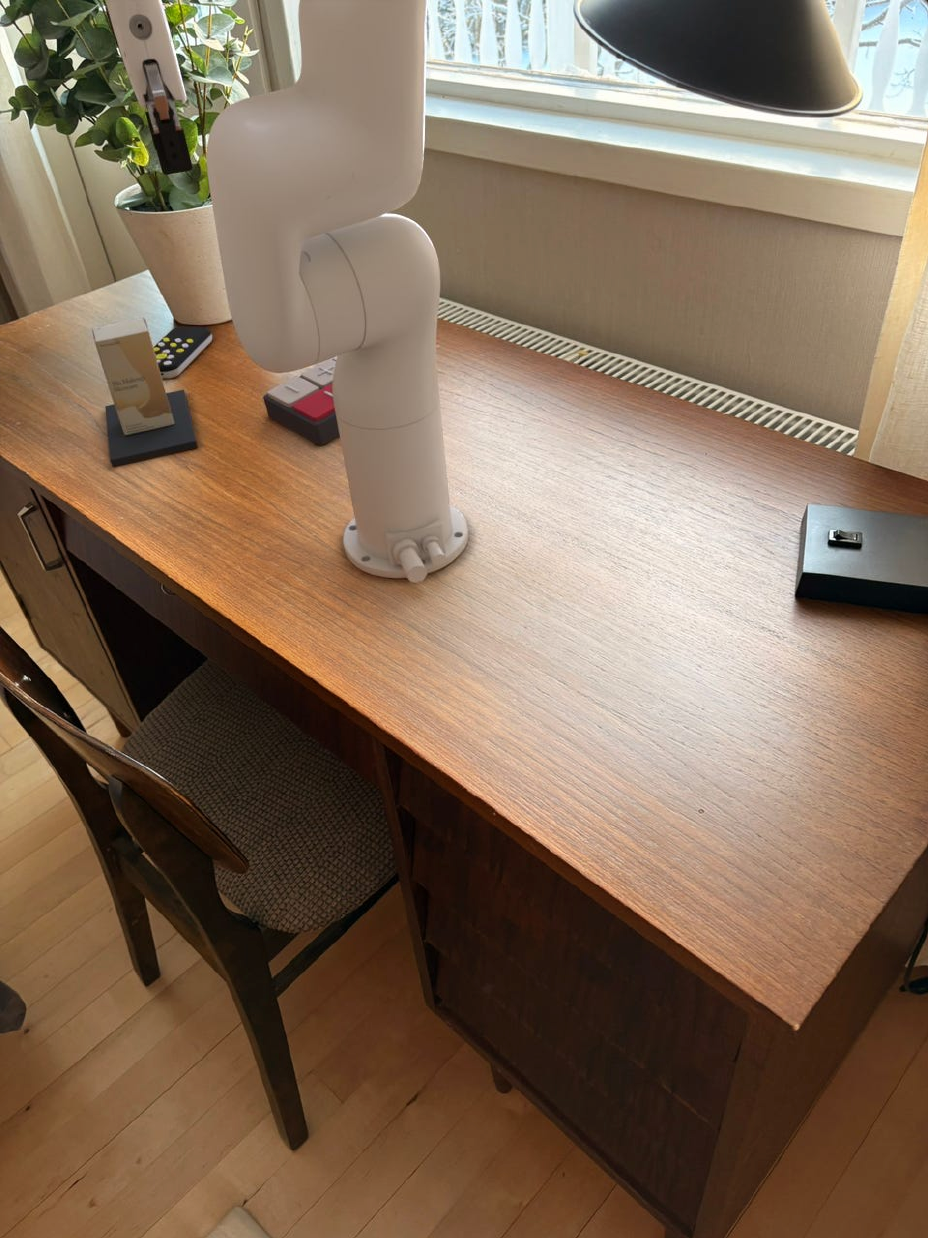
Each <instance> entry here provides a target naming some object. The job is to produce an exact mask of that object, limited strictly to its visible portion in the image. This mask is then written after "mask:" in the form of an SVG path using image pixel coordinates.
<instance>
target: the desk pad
mask: <svg viewBox="0 0 928 1238" xmlns="http://www.w3.org/2000/svg"><path fill="white" fill-rule="evenodd" d="M166 395H167V398H168V402H169V405H170V409H171V412H172V416H173V420H174V425H170V426H165V427H161V428H157V429H152V430H148V431H143V432H139V433H134V434H130V435H124V432H123V429H122V426H121V423H120V420H119V417H118V414H117V411H116V408H115V405H114V403H113V404H109V405H105V406H104V407H105V419H106V429H107V441H108V452H109V462H110V464H111V466H112V467H113V468H115V467H119V466H123V465H127V464H133V463H138V462H141V461H147V460H150V459H154V458H159V457H163V456H168V455H172V454H177V453H180V452H185V451H189V450H190V451H191V450H194V449H198V448H199V446H198V443H197V438H196V433H195V429H194V425H193V421H192V417H191V412H190V407H189V403H188V399H187V395H186V392H185V389H179V390H174V391H170V392H166Z"/></svg>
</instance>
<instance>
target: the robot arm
mask: <svg viewBox="0 0 928 1238" xmlns="http://www.w3.org/2000/svg"><path fill="white" fill-rule="evenodd" d="M428 2H429V0H299V3H298V12H297V14H298V15H297V16H298V17H297V18H298V30H299V43H300V57H301V58H300V60H301V62H300V63H301V64H300V65H301V67H300V74H299V77H298V79H297V81H296V82H295V83H294V84H293V85H292V86H290V87H287V88H284V89H277V90H274V91H269V92H265V93H261V94H256V95H253V96H250V97H247V98H243V99H241V100H238V101H236V102H234V103H232V104H230V105H228V106H226V108H224V109H223V110H221V112H220V113H219V114H218V115H217V116H216V118H215V119H214V121H213V123H212V125H211V128H210V130H209V135H208V139H207V144H206V146H207V147H206V169H207V170H206V171H207V178H208V180H207V181H208V188H209V194H210V199H211V206H212V213H213V220H214V224H215V230H216V237H217V243H218V250H219V256H220V261H221V268H222V274H223V275H222V276H223V281H224V287H225V293H226V298H227V303H228V309H229V314H230V316H231V321H232V324H233V328H234V330H235V334H236V336H237V338H238V341H239V343H240V345H241V347H242V350H244V352H245V354H246V355H247V356H248V358H249V359H250V360H251V361H252V362H253V363H254V364H255V365H256V366H258V367H259V368H261V369H263V370H265V371H267V372H271V373H275V374H283V373H284V374H285V373H292V372H296V371H299V370H303V369H306V368H308V367H311V366H315V365H318V364H320V363H322V362H324V361H326V360H328V359H331V360H332V359H333V358H334V357H336V356H338V357H337V360H336V364H335V369H334V374H333V383H332V393H333V401H334V407H335V412H336V418H337V423H338V429H339V434H340V436H339V439H340V445H341V450H342V455H343V461H344V462H343V463H344V465H345V466H344V467H345V473H346V478H347V484H348V488H349V489H348V490H349V493H350V494H349V495H350V501H351V506H352V512H353V515H354V516H353V518H352V519H351V520H350V521H349V522H348V523H347V525H346V526H345V528H344V532H343V536H342V544H343V548H344V553H345V556H346V557H347V559H348V560H349V562H350V563H352V565H354V567H356V568H357V569H359V570H360V571H362V572H364V573H367V574H370V575H373V576H377V577H380V578H381V577H382V578H387V579H388V578H390V579H407V580H408V581H409V582H410V583H414V584H417V583H421V582H422V581H424V580H425V579H426V578H427V575H428V574H430V573H435V572H436V571H438V570H441V569H442V568H444V567H446V566H447V565H450V563H452V562H453V561H454V560H456V559H457V558H458V557H459V556H460V555H461V554H462V552H463V551H464V550H465V548H466V545H467V544H468V539H469V529H468V522H467V520H466V518H465V516H464V515H463V514H462V512H461V511H460V510H459V509H458V508H457V507H455V506H454V505H452V504H451V503H450V502H451V501H450V493H449V491H450V490H449V482H448V481H449V480H448V471H447V461H446V450H445V439H444V431H443V421H442V419H443V418H442V410H441V401H440V400H441V399H440V387H439V377H438V363H437V330H438V329H437V328H438V317H439V307H440V298H441V297H440V295H441V271H440V269H441V267H440V263H439V258H438V255H437V251H436V249H435V246H434V244H433V241H432V240H431V238H430V236H429V235H428V234H427V232H426V231H425V230H424V228H422V226H420V224H418V223H417V222H415V221H414V220H412V219H410V218H409V217H406V216H403V215H400V214H396V213H391V212H393V211H396V210H397V209H400V208H401V207H403V206H404V205H407V204H408V203H409V202H410V201H411V200H412V199H413V198H414V196H415V195H416V194H417V192H418V189H419V187H420V184H421V181H422V175H423V169H424V158H425V134H426V133H425V129H426V87H427V86H426V79H427V17H428V15H427V14H428ZM105 3H106V7H107V11H108V14H109V19H110V21H111V25H112V29H113V32H114V35H115V38H116V42H117V46H118V49H119V52H120V55H121V58H122V62H123V65H124V67H125V71H126V74H127V76H128V79H129V81H130V84H131V88H132V90H133V92H134V94H135V97H136V99H137V102H138V104H139V106H140V108H142V109H144V110H146V111H144V113H145V117H146V121H147V125H148V129H149V133H150V137H151V140H152V144H153V147H154V150H155V151H156V154H157V158H158V162H159V165H160V169H161V172H162V175H165V176H168V175H174V174H181V173H186V172H191V171H192V170H193V167H194V166H193V163H192V158H191V155H190V151H189V147H188V143H187V142H188V141H187V138H186V135H185V130H184V128H183V127H181V122H180V119H179V115H178V112H177V108H176V104H175V101H180V103H181V105H184V104H186V103H187V100H188V97H187V93H186V90H185V89H186V88H185V86H184V82H183V78H182V77H183V76H182V74H181V70H180V65H179V61H178V58H177V54H176V50H175V45H174V41H173V37H172V32H171V29H170V26H169V25H170V24H169V22H168V21H169V20H168V18H167V13H166V10H165V7H164V3H163V0H105Z"/></svg>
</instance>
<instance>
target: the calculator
mask: <svg viewBox="0 0 928 1238" xmlns="http://www.w3.org/2000/svg"><path fill="white" fill-rule="evenodd" d="M337 357H338V356H336V357H333V358H331V359H328V360H325V361H322V362H320V363H317V364H315V365H313V366H312V367H311V368H309V369H307V370H305V371H302V372H301V373H300V376H294V377H292V378H289V379H288V380H286V381H284V382H282V383H280V384H278V385H276V386H275V387H273V388H271V389H269V390H267V391H266V394H264V395H263V396H262V399H263V403H264V406H265V409H266V413H267V416H268V418H269V419H271V420H273V421H275V422H276V423H278V424H279V425H281V426H283V427H285V428H286V429H288V430H290V431H292V432H294V433H296V434H298V435H299V436H301V437H303V438H305V439H307V440H308V441H310V442H312V443H314V444H315V445H317V446H324V445H326V444H328V443H329V442H332V441H333V440H334V439H336V438H338V437H340V434H339V429H338V423H337V418H336V412H335V407H334V401H333V393H332V383H333V374H334V369H335V364H336V360H337Z"/></svg>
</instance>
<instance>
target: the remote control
mask: <svg viewBox="0 0 928 1238" xmlns="http://www.w3.org/2000/svg"><path fill="white" fill-rule="evenodd" d="M212 341H213V335H212V332H211V329H209V328H207V327H205V326H177V327H174V328H172V329H171V330H170V331H169V332H168V333H167V334H166V335H165V336H163V337H162V338H161V339H160V340H159V341H158V342H157V343H156V344H154V345H153V348H154V352H155V355H156V359H157V362H158V366H159V370H160V373H161V377H162V379H167V380H169V379H174V378H176V377H178V376H179V375H180V374H181V373H183V371H185V370H186V368H187V367H188V366H189V365H190V364H191V363H192V362H193V361H194V360H195V359H196V358H197V357H198V356H199V355H200V354H201V353H202V352H203V351H204V350H205V349H206V348H207V346H209V345H210V343H211V342H212Z"/></svg>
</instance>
